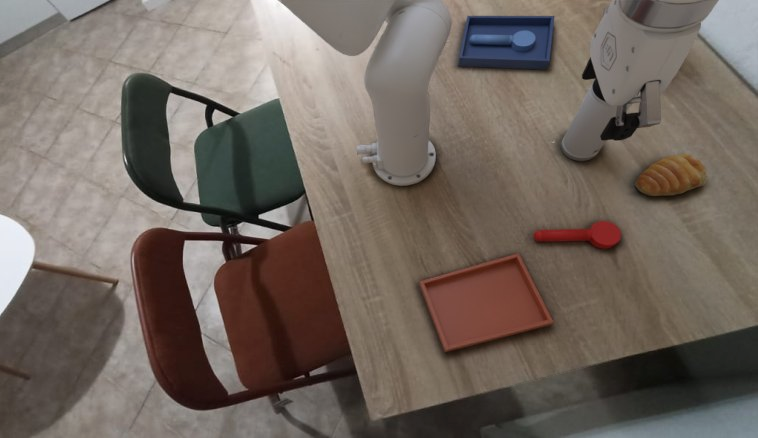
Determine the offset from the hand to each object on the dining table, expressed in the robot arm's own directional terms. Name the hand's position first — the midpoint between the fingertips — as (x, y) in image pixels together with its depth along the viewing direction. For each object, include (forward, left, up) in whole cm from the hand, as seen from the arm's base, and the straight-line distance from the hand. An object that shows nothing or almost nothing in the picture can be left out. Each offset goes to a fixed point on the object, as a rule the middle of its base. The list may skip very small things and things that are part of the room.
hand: (604, 105), depth 56 cm
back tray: (-3, +37, -27) cm, 46 cm away
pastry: (+19, +2, -27) cm, 33 cm away
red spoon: (+3, -8, -27) cm, 28 cm away
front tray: (-13, -20, -27) cm, 36 cm away
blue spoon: (-4, +38, -26) cm, 46 cm away
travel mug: (+7, +10, -27) cm, 29 cm away
